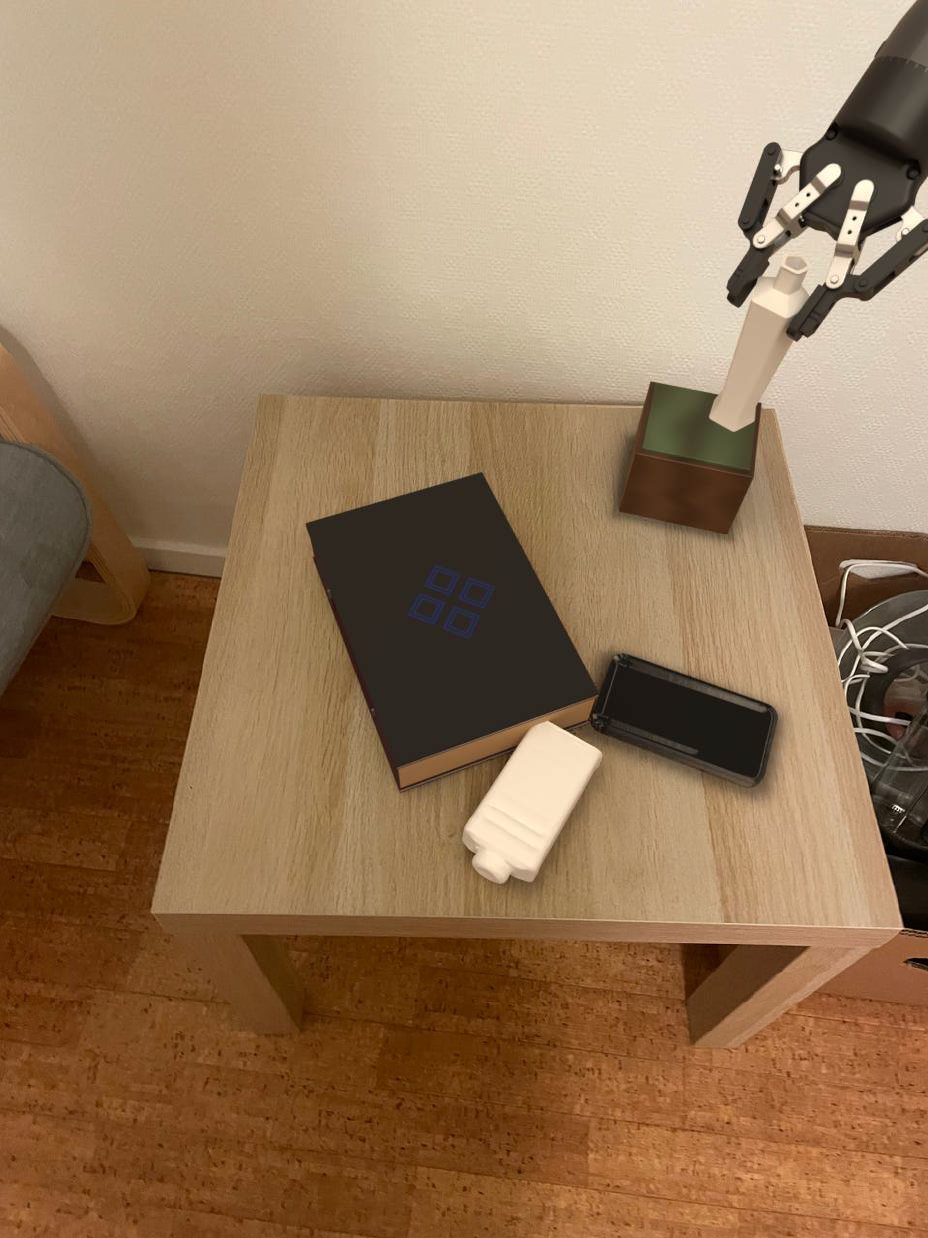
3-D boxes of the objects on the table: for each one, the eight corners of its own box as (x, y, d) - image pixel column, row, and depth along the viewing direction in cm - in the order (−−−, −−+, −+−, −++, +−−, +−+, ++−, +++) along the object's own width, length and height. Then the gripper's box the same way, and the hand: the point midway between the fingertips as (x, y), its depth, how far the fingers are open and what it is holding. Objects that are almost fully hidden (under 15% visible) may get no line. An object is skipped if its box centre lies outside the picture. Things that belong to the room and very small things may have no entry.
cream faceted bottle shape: (753, 440, 71) (824, 291, 58) (702, 425, 72) (761, 275, 59) (763, 403, 73) (834, 251, 60) (714, 389, 74) (773, 236, 61)
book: (399, 796, 70) (395, 767, 64) (314, 565, 82) (304, 522, 76) (587, 727, 73) (600, 693, 68) (479, 515, 85) (482, 471, 80)
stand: (736, 462, 90) (763, 399, 82) (727, 534, 85) (755, 474, 77) (633, 441, 91) (651, 377, 83) (619, 511, 86) (636, 450, 78)
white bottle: (449, 859, 67) (450, 844, 63) (530, 732, 73) (535, 711, 69) (520, 904, 65) (525, 891, 62) (597, 771, 71) (605, 751, 67)
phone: (615, 649, 76) (780, 707, 73) (613, 655, 77) (776, 713, 74) (588, 723, 72) (761, 788, 70) (586, 729, 73) (757, 792, 70)
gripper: (1018, 155, 57) (849, 379, 63) (835, 73, 62) (695, 288, 68) (1029, 103, 51) (840, 358, 56) (824, 16, 56) (669, 259, 61)
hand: (761, 318), depth 62 cm, fingers closed on cream faceted bottle shape, 4 cm apart
